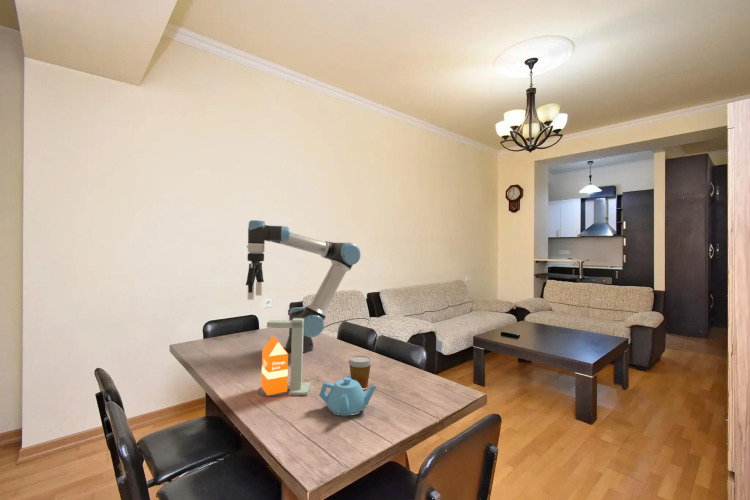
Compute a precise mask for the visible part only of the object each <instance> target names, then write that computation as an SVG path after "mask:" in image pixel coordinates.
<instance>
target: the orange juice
mask: <svg viewBox="0 0 750 500" xmlns="http://www.w3.org/2000/svg"><path fill="white" fill-rule="evenodd" d="M261 356H262V357H261V386H260V387H262V389H263V390H264V391H265V393H266V394H267V395H272V394H277V393H281V392H286V391H287V385H288V375H289V373H288V371H289V369H288V368H289V352H288V351H286V350H285V348H284V347H283V345H282V344H281V343H280V340H278V338H276V337H274V336H273V335H271V337H270V339H269V340H268V341H267V343H266V345H265V346H264V347H263V349H262V351H261Z"/></svg>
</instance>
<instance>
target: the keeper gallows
mask: <svg viewBox="0 0 750 500" xmlns="http://www.w3.org/2000/svg"><path fill="white" fill-rule="evenodd" d="M266 328H267V329H273V328H274V329H289V328H292V342H291V352H290V382H289V383H290V385H289V387H290V391H289V392H288V396H289V395H307V394H309V392H308V391H310V389H309V388H311V385H310V384H311V381H308V382H307V381H303V371H304V370H303V363H304V360H303V359H304V353H303V334H304V318H294V319H293V320H292V321H289V320H276V319H275V320H273V319H272V320H271V319H270V320H268V321H267V322H266ZM307 396H308V395H307Z"/></svg>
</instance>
